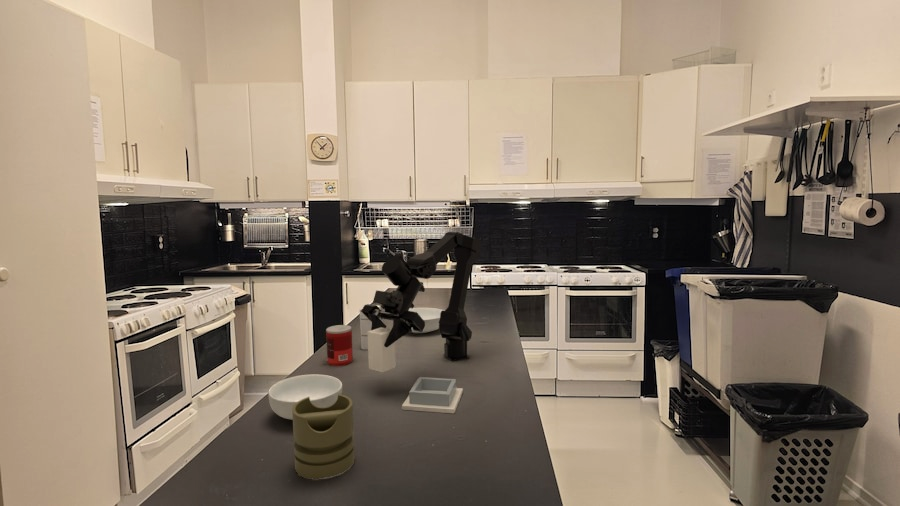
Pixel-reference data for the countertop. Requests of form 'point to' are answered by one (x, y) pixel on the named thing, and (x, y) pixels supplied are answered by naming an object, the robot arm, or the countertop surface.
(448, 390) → the socket
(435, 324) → the serving bowl
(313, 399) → the cereal bowl
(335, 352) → the canned food
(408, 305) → the robot arm
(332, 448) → the piston
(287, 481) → the countertop surface
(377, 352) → the plug
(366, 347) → the syrup box
